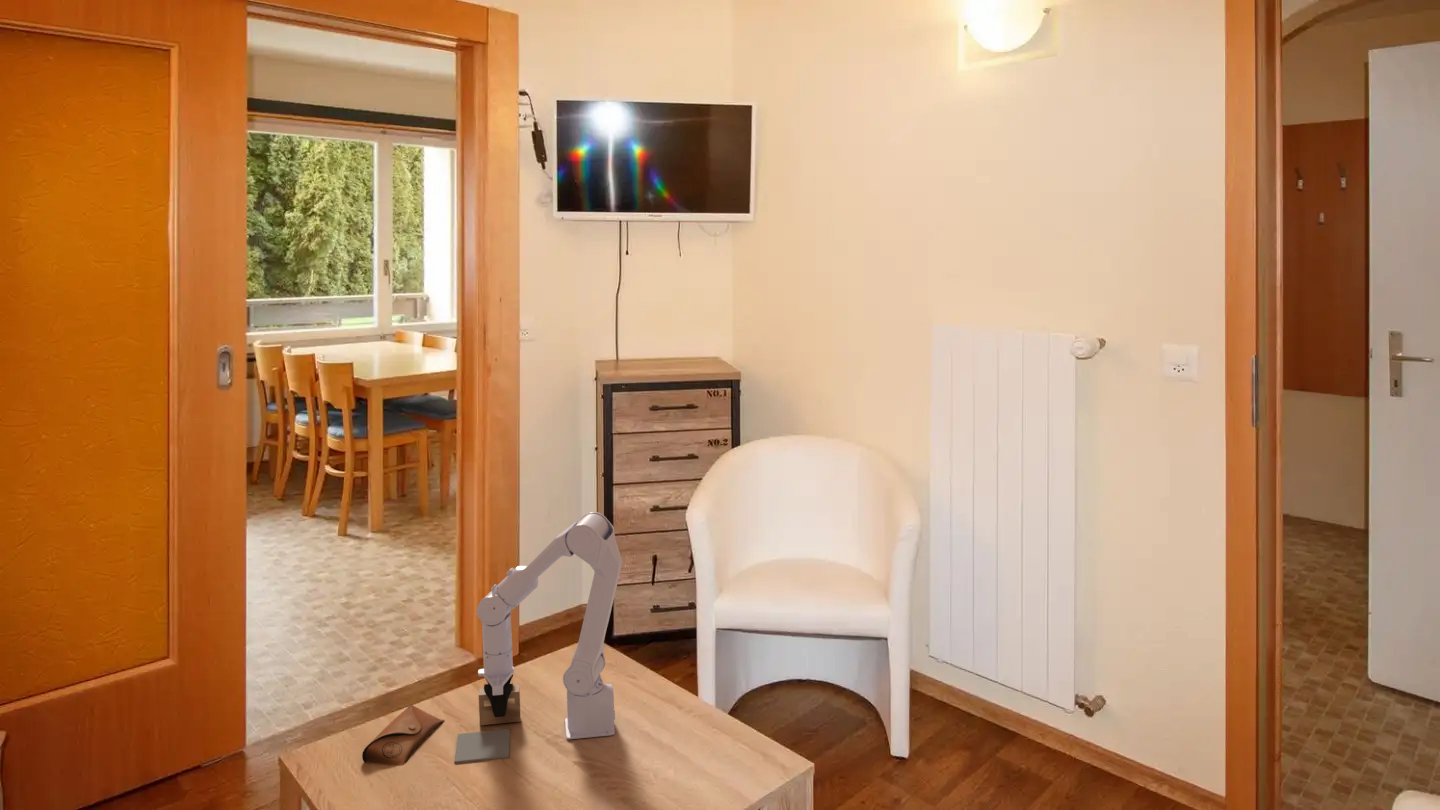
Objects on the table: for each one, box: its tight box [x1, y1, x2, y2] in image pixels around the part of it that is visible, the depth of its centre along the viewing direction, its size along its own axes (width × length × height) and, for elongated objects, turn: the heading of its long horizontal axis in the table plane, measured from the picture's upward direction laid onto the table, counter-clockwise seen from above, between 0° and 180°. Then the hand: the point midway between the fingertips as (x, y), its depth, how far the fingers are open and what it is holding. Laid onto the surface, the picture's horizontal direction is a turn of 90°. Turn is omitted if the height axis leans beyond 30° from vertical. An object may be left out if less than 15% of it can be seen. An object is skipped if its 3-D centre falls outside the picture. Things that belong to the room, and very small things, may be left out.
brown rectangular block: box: [478, 684, 521, 726], centre depth 186 cm, size 8×3×6 cm, turn 102°
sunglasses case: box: [361, 703, 445, 766], centre depth 179 cm, size 18×7×7 cm, turn 171°
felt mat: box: [453, 728, 511, 764], centre depth 177 cm, size 10×10×1 cm
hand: (500, 711), depth 186 cm, fingers closed on brown rectangular block, 3 cm apart
